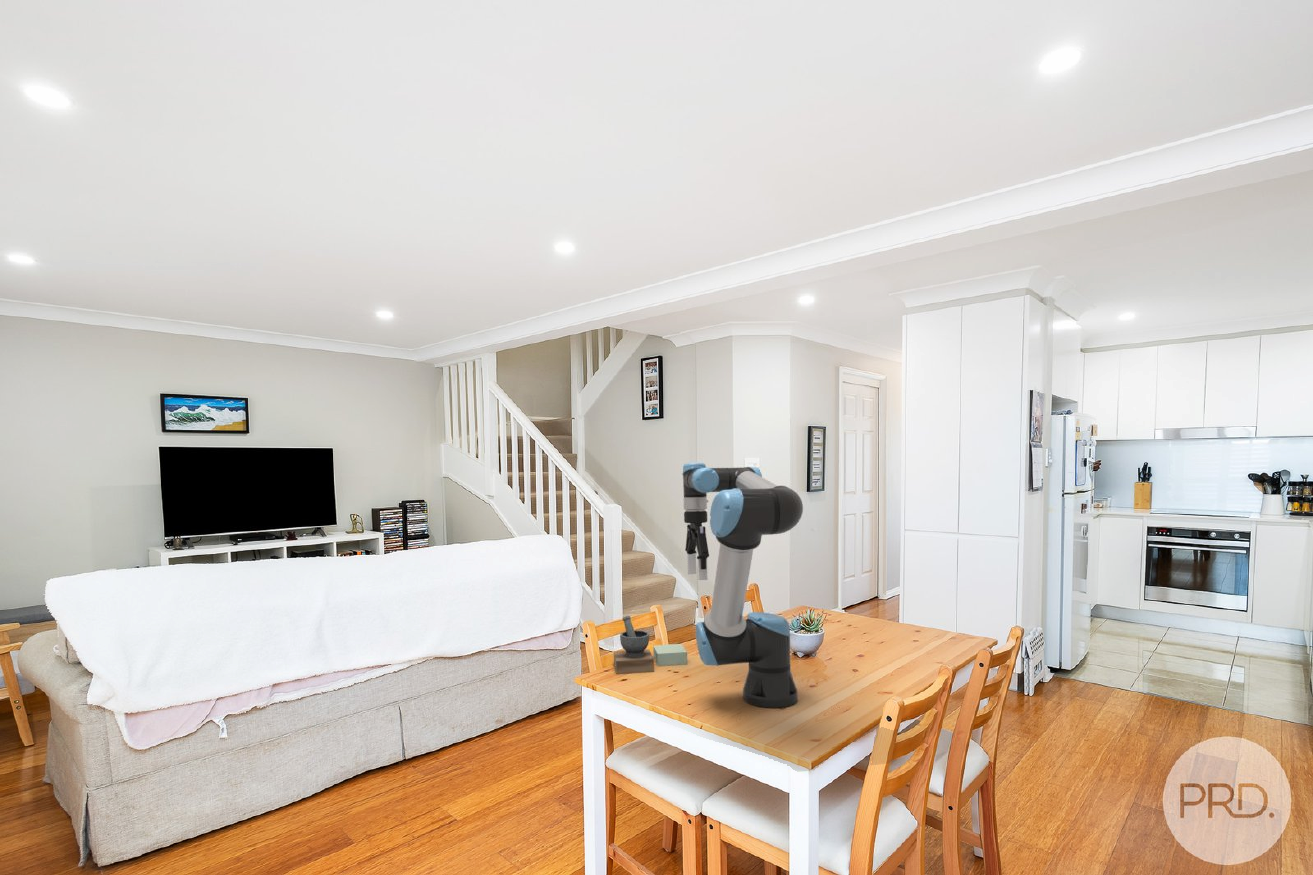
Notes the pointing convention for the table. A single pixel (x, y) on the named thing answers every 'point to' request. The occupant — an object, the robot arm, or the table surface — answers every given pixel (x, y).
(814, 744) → the table surface
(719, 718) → the table surface
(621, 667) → the walnut plinth
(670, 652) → the green plinth
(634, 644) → the mortar and pestle
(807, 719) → the table surface
